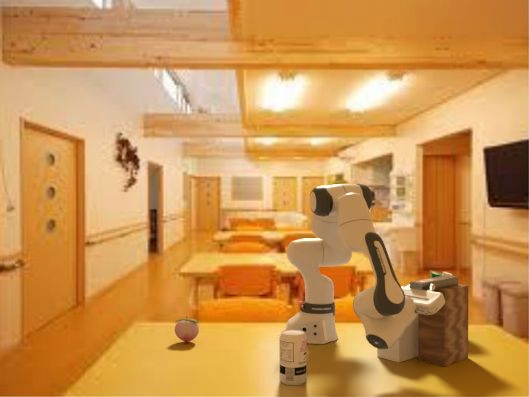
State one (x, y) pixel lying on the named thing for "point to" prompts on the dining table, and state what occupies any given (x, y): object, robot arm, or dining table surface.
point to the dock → (403, 345)
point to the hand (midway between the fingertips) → (424, 284)
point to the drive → (435, 282)
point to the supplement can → (293, 357)
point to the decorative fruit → (186, 329)
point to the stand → (445, 329)
